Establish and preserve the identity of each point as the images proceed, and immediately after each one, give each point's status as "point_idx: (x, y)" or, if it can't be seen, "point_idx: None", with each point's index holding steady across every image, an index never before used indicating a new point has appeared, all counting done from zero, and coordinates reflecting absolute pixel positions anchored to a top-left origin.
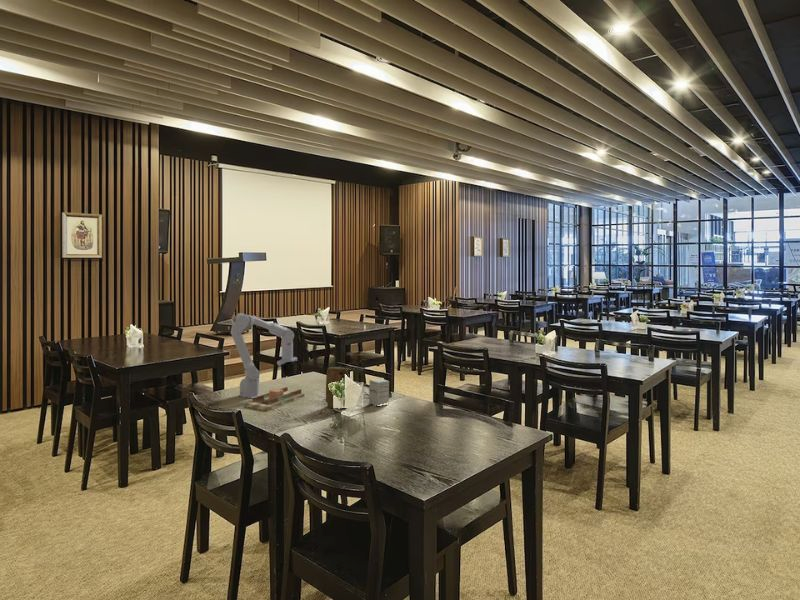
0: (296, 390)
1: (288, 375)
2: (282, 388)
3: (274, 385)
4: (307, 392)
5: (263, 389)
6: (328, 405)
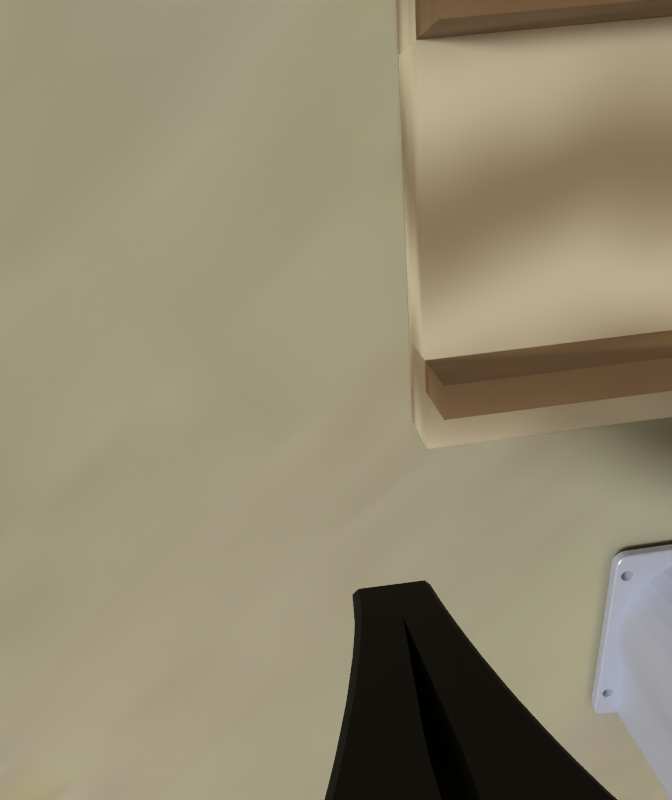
0: (582, 3)
1: (423, 594)
2: (566, 396)
3: (153, 767)
4: (60, 167)
5: None
6: None
